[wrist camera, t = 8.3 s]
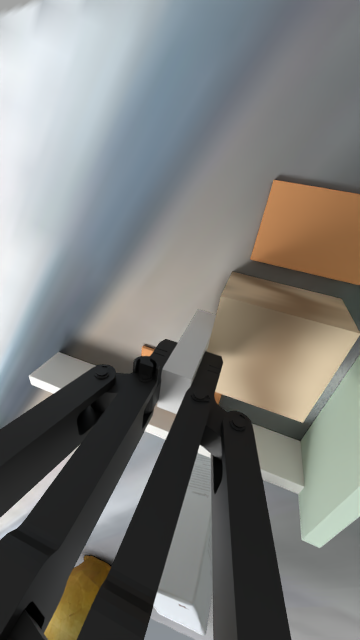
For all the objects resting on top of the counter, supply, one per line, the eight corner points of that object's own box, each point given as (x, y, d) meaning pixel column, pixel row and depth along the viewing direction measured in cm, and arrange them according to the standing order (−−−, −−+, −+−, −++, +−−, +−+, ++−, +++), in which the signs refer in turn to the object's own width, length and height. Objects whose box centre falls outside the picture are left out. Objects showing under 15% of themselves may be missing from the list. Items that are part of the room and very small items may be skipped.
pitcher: (131, 596, 68) (62, 775, 47) (75, 557, 72) (-12, 706, 51) (139, 577, 59) (57, 788, 38) (74, 534, 63) (-31, 704, 42)
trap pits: (140, 380, 25) (139, 382, 25) (158, 160, 15) (155, 159, 15) (292, 436, 22) (292, 439, 22) (439, 207, 12) (442, 207, 12)
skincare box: (187, 436, 27) (136, 582, 17) (226, 442, 26) (194, 607, 16) (195, 470, 30) (156, 614, 20) (231, 478, 28) (207, 639, 18)
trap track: (59, 360, 28) (4, 407, 22) (23, 129, 17) (-107, 103, 11) (308, 453, 23) (319, 548, 17) (496, 204, 12) (716, 229, 6)
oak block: (211, 349, 21) (197, 385, 17) (232, 270, 17) (220, 295, 13) (297, 376, 20) (302, 422, 16) (340, 297, 16) (360, 333, 12)
